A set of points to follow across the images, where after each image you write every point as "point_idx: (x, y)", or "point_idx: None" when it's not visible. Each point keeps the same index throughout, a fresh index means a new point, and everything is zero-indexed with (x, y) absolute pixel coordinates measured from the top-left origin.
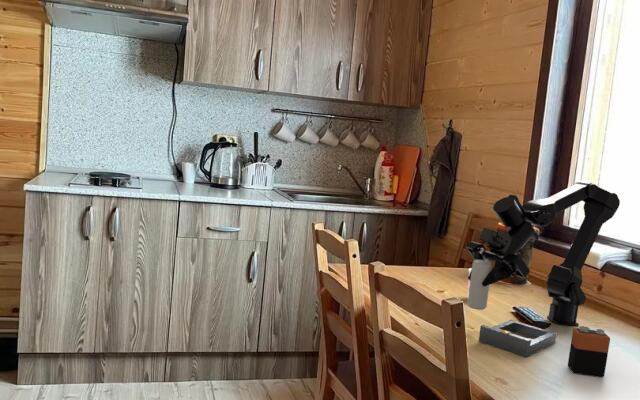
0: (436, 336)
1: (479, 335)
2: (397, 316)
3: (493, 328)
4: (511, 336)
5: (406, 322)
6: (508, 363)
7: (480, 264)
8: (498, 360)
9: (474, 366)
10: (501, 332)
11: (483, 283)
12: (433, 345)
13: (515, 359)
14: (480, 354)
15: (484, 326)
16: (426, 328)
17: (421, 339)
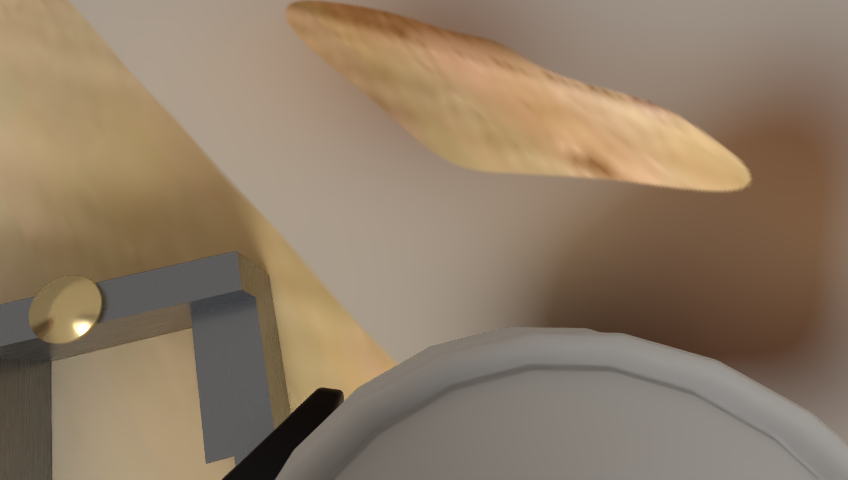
0: (413, 129)
1: (256, 266)
2: (718, 150)
3: (160, 295)
4: (17, 301)
5: (624, 131)
6: (15, 186)
7: (418, 398)
8: (64, 171)
9: (91, 29)
10: (80, 276)
11: (310, 396)
12: (330, 40)
13: (17, 262)
14: (155, 150)
15: (216, 267)
16: (522, 163)
17: (406, 42)
